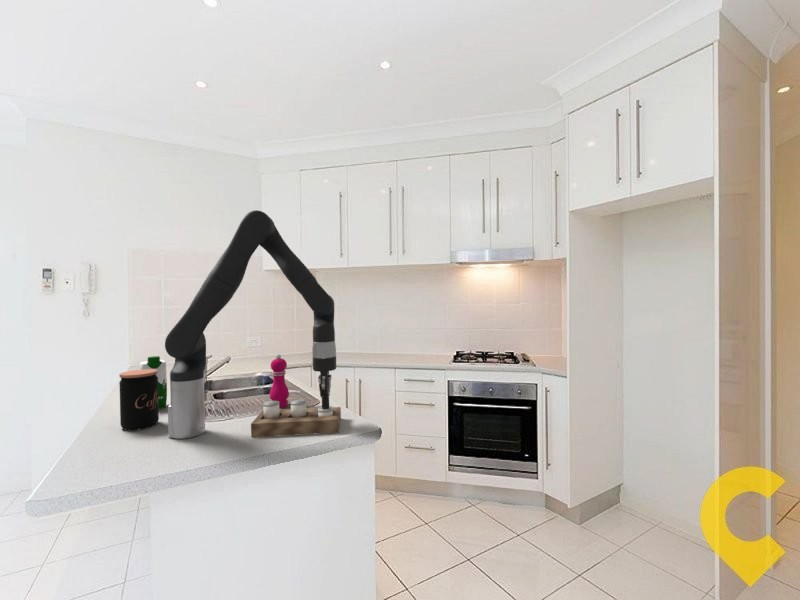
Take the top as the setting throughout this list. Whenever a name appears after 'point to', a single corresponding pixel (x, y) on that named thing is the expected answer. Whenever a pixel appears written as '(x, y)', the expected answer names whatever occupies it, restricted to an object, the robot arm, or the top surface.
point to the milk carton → (162, 377)
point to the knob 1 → (271, 410)
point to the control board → (296, 423)
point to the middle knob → (298, 408)
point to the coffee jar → (139, 399)
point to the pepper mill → (279, 382)
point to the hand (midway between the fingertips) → (325, 408)
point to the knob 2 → (325, 412)
